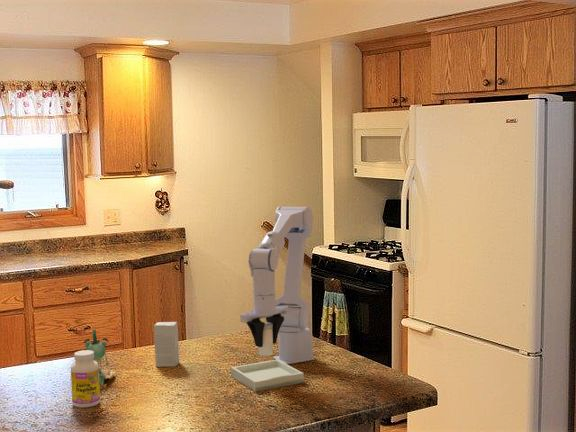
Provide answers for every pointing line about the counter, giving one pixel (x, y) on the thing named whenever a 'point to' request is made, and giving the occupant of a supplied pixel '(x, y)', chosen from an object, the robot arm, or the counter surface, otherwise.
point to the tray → (267, 375)
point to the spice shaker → (267, 340)
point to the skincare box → (166, 344)
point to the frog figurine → (99, 357)
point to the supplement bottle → (85, 380)
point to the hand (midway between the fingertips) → (265, 344)
